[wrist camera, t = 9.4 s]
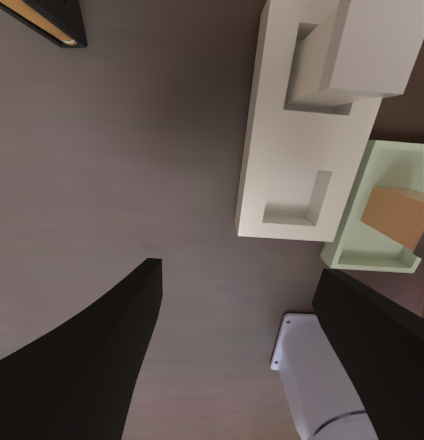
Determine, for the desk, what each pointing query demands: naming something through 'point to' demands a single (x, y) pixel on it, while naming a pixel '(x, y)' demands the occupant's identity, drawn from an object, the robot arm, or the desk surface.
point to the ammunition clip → (50, 19)
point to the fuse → (357, 53)
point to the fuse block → (296, 138)
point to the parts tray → (361, 189)
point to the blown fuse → (397, 216)
